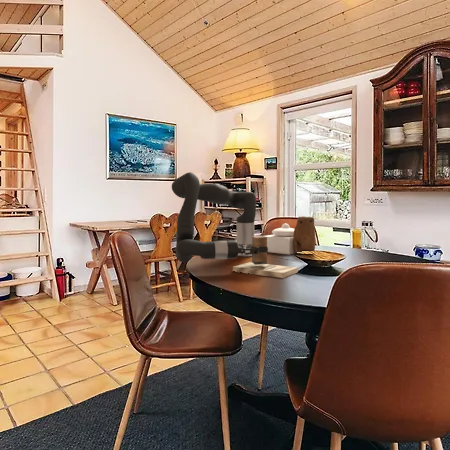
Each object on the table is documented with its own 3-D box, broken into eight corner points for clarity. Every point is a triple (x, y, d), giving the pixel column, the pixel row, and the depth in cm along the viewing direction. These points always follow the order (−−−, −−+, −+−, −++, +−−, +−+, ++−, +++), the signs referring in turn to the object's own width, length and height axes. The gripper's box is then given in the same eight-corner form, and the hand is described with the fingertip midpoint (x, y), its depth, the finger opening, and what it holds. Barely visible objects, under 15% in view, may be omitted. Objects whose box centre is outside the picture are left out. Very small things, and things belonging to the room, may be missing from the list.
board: (232, 271, 159) (232, 266, 159) (249, 266, 170) (249, 262, 170) (283, 278, 146) (283, 272, 146) (297, 272, 157) (297, 267, 156)
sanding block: (255, 264, 156) (255, 237, 156) (252, 262, 161) (252, 236, 160) (266, 264, 157) (267, 237, 156) (263, 262, 162) (263, 236, 161)
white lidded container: (289, 254, 204) (289, 225, 203) (262, 251, 216) (262, 223, 215) (306, 251, 217) (306, 223, 216) (280, 248, 229) (280, 221, 228)
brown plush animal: (312, 253, 208) (313, 216, 207) (315, 255, 201) (316, 217, 199) (292, 253, 208) (292, 216, 207) (294, 255, 201) (295, 217, 199)
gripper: (228, 242, 149) (270, 241, 152) (222, 238, 163) (261, 237, 166) (228, 261, 150) (270, 260, 153) (222, 256, 164) (261, 255, 167)
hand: (265, 248), depth 159 cm, fingers closed on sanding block, 5 cm apart
